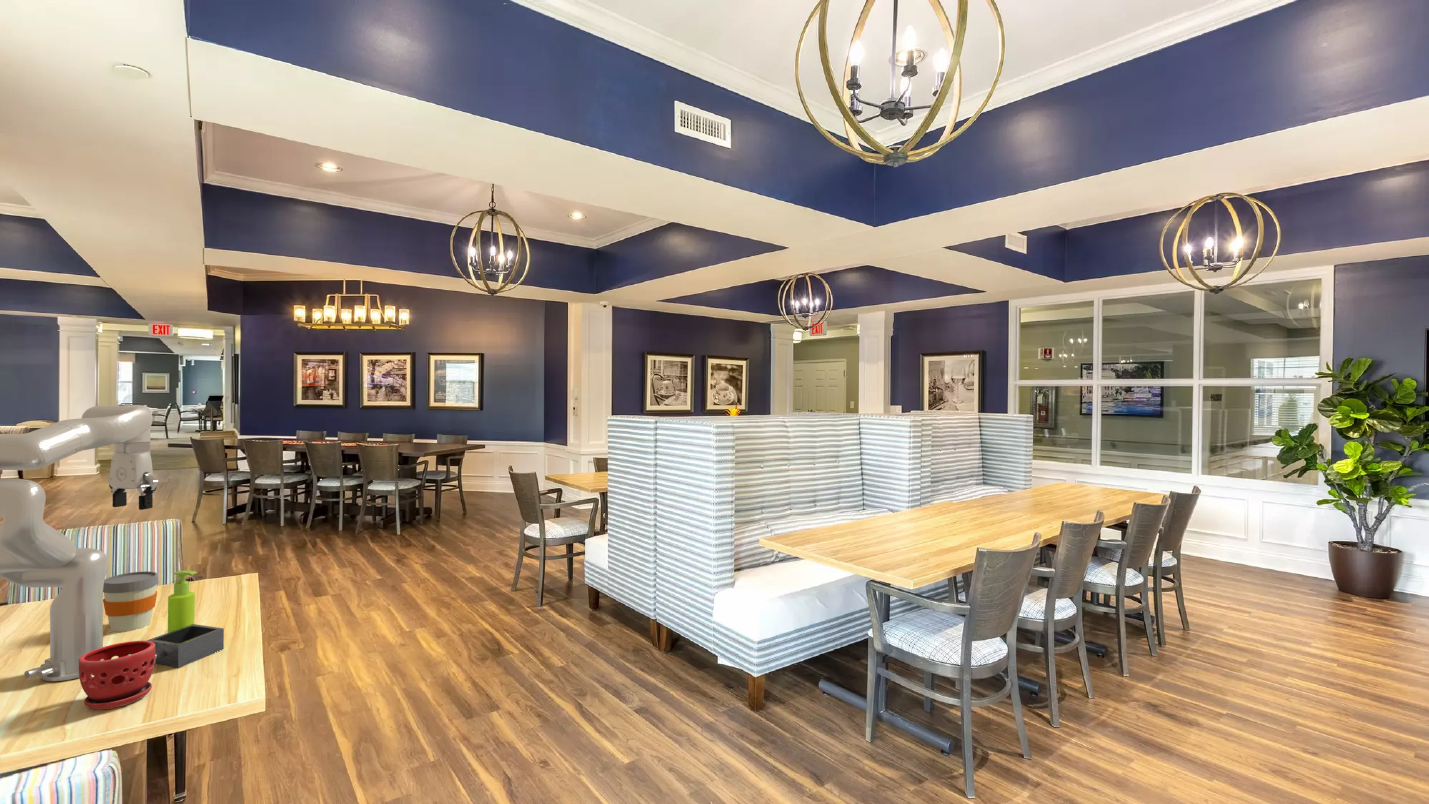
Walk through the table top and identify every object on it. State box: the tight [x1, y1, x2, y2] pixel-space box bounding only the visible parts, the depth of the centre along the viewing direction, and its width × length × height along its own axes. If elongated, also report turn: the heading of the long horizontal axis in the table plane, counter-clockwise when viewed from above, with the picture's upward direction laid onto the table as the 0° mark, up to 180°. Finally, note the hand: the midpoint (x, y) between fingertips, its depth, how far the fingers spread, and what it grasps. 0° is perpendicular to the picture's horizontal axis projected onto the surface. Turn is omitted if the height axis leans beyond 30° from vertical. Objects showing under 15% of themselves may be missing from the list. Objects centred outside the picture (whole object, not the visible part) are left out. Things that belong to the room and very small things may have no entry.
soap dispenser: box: [167, 569, 198, 633], centre depth 181 cm, size 6×7×20 cm
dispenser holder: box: [143, 623, 225, 669], centre depth 168 cm, size 17×11×6 cm, turn 167°
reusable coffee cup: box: [103, 570, 159, 633], centre depth 189 cm, size 13×13×15 cm
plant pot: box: [78, 640, 156, 710], centre depth 147 cm, size 13×13×12 cm
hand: (132, 507), depth 179 cm, fingers open, 9 cm apart
